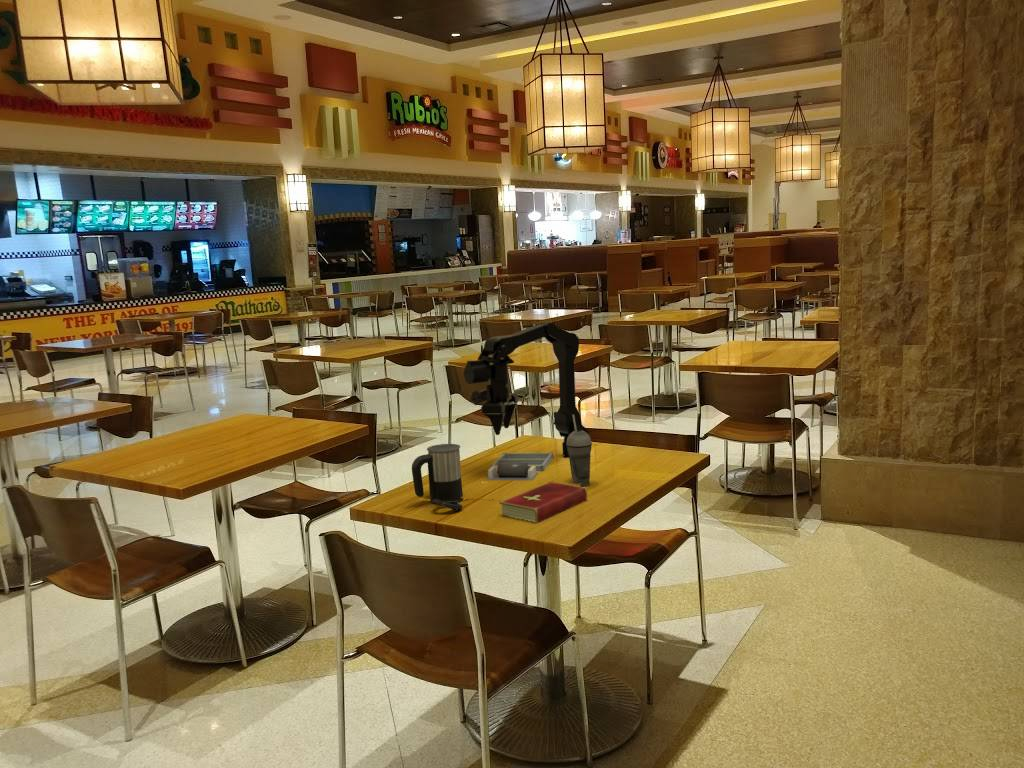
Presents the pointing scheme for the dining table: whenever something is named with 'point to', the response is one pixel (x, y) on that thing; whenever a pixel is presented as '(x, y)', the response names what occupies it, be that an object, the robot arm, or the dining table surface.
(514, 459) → the cell tray
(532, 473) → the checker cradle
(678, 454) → the dining table surface
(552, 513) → the hardcover book
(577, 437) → the beverage cup
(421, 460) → the milk frother
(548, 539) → the dining table surface
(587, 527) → the dining table surface
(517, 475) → the battery cell
